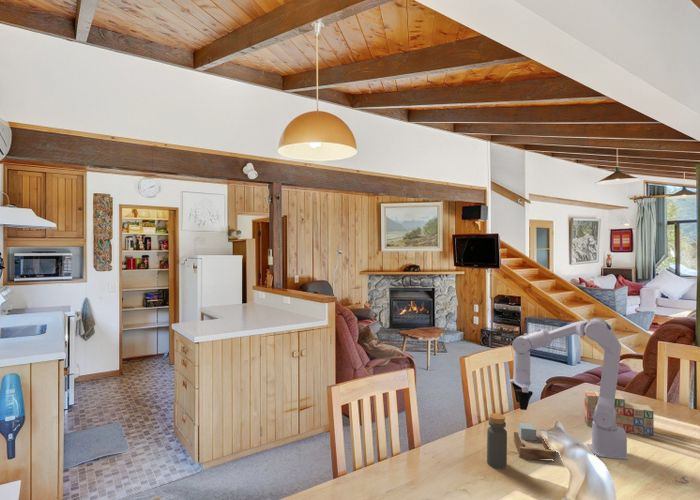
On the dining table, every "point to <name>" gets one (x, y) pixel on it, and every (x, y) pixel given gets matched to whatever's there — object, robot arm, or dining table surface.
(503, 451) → the bottle
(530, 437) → the block
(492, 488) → the dining table surface
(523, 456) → the holder
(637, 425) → the stack of blocks
